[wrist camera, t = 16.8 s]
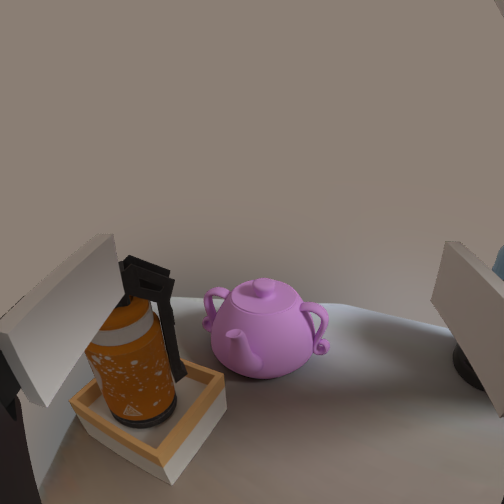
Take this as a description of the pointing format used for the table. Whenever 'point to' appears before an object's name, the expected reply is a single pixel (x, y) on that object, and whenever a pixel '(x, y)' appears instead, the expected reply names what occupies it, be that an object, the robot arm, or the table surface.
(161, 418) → the canister
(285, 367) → the teapot
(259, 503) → the table surface
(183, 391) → the orange-rimmed open box
